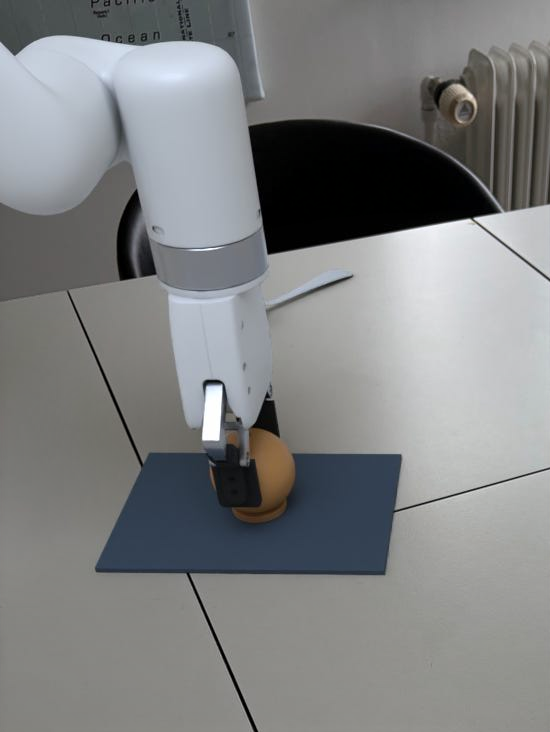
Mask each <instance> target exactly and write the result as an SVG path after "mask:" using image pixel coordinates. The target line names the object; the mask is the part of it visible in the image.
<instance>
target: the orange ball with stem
mask: <svg viewBox="0 0 550 732" xmlns="http://www.w3.org/2000/svg"><path fill="white" fill-rule="evenodd" d="M225 436H226V439H227V443H228V444H233V445H235V446H236V447H237V448H238V431H231V432H230V433H228V434H227V435H225ZM280 438H281V437H280ZM280 438H278V437H277V436H276V435H274V434H272V433H271V432H268V431H266V430H263V429H258V428H249V450H250V459H255V463H256V468H257V474H258V479H259V485H260V490H261V495H262V503H261V506H260V507H257V508H253V507H232V512H233V514H234V515H235V517H236V518H238V519H239V520H242V521H244V522H249V523H261V522H267V521H270V520H273V519H275V518H277V517H279V516H280V515H281V514H282V513H283V512H284V511H285V509H286V507H287V501H286V497H287V496H288V495H289V493H290V491H291V489H292V487H293V484H294V481H295V463H294V459H293V456H292V454H291V453H292V452H291V451H290V449H289V447H288V445H287V444H286V443H285V442H284V441H283V440H282V439H280ZM210 477H211V481H212V484H213V486H214V488H215V490H216V487H215V483H214V478H213V473H212V469H211V467H210Z"/></svg>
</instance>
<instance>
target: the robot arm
mask: <svg viewBox="0 0 550 732" xmlns="http://www.w3.org/2000/svg"><path fill="white" fill-rule="evenodd" d="M244 96H245V95H244V90H243V84H242V80H241V74H240V71H239V68H238V66H237V64H236V62H235V60H234V58H233V57H232V56H231V55H230V54H229V53H228V52H227V51H226V50H225V49H223V48H222V47H219V46H217V45H214V44H212V43H211V44H210V43H208V42H207V43H206V42H203V41H194V40H193V41H191V40H176V41H175V40H173V41H172V40H171V41H164V42H163V41H162V42H156V43H155V42H154V43H149V44H145V45H135V44H127V43H119V42H112V41H107V40H102V39H95V38H91V37H85V36H83V37H82V36H75V35H51V36H45V37H42V38H39V39H37V40H34V41H32V42H30V43H29V44H28V45H26V46H25V47H23V48H22V49H21V51H18V53H17V54H16V55H14V54H13V53H12V52H11V51H10V50H9V49H8V48H7V47H6V45H4V44H3V43H2V42H1V41H0V203H1V204H2V205H5V206H6V207H9V208H11V209H13V210H16V211H17V212H20V213H21V212H22V213H25V214H28V215H34V216H45V217H46V216H53V215H59V214H63V213H66V212H68V211H70V210H73V209H74V208H76V207H78V206H79V205H80V204H82V203H83V202H84V201H85V200H86V199H87V198H88V196H89V195H90V194H91V193H92V191H94V189H95V188H96V186H97V185H98V184H99V182H100V181H101V180H102V178H103V176H104V175H105V174H106V172H107V171H108V170H110V169H111V168H113V167H115V166H117V165H118V164H120V163H122V162H127V163H129V164H130V165H131V169H132V173H133V176H134V181H135V186H136V191H137V194H138V198H139V204H140V208H141V212H142V216H143V221H144V226H145V230H146V234H147V238H148V242H149V243H148V244H149V246H150V247H149V248H150V251H151V255H152V260H153V265H154V269H155V273H156V278H157V282H158V285H159V287H160V288H161V289H162V290H163V291H165V292H166V293H168V296H167V300H168V301H167V303H168V304H167V305H168V319H169V320H168V321H169V331H170V339H171V345H172V352H173V359H174V364H175V371H176V375H177V383H178V388H179V393H180V398H181V404H182V409H183V415H184V419H185V423H186V425H187V427H188V428H190V430H193V431H195V430H196V431H197V430H199V429H202V436H201V445H202V448H203V450H204V451H205V453H206V456H208V459H209V465H210V467H211V469H212V473H213V478H214V483H215V487H216V492H217V496H218V501H219V504H220V505H221V506H222V507H253V508H257V507H260V506H261V503H262V495H261V490H260V485H259V479H258V474H257V468H256V463H255V459H250V450H249V428H258V429H263V430H266V431H268V432H271V433H272V434H274V435H276V436H277V437H278V438H280V439H281V432H280V427H279V421H278V415H277V408H276V401H275V400H274V399H273V397H274V396H273V394H274V390H273V384H272V382H271V379H272V376H273V372H274V371H273V370H274V357H273V356H274V355H273V346H272V339H271V332H270V325H269V320H268V314H267V308H266V306H265V303H264V302H265V299H264V293H263V289H262V283H264V282H265V281H266V280H267V279H268V277H269V275H270V273H271V271H270V263H269V256H268V249H267V243H266V237H265V230H264V223H263V216H262V210H261V203H260V197H259V190H258V185H257V177H256V171H255V165H254V158H253V151H252V143H251V136H250V130H249V123H248V116H247V110H246V104H245V97H244ZM227 414H234V416H235V420H236V421H226V419H227ZM226 431H229V432H230V431H231V432H234V431H238V448H237V447H236V446H235V445H233V444H228V443H227V439H226V436H227V435H226ZM281 440H282V439H281Z"/></svg>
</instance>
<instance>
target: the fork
mask: <svg viewBox="0 0 550 732" xmlns="http://www.w3.org/2000/svg"><path fill="white" fill-rule="evenodd" d="M353 275H354V274H353V272H351V271H350V270H346V269H343V268H334V269H331V270H326V271H325V272H323V273H320V274H319V275H317V276H315V277H313V278H311V280H309V281H306V282H305V283H304V284H301V285H300V286H298V287H297V288H295V289H293V290H292V291H289V292H288V293H285V294H283V295H281V296H279V297H276V298H275V299H272V300H269V301H264V303H265V307H267V306H274V305H278V304H281V303H284V302H286V301H288V300H291V299H294V297H297V296H299V295H302V294H304V293H307V292H309V291H312V290H314V289H317V288H319V287H322V286H325V285H328V284H330V283H333V282H336V281H339V280H341V279H345V278H348V277H352V276H353Z"/></svg>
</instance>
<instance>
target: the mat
mask: <svg viewBox="0 0 550 732" xmlns="http://www.w3.org/2000/svg"><path fill="white" fill-rule="evenodd" d="M206 453H207V452H151V451H150V452H148V454H147V456H146V458H145V460H144V463H143V465H142V467H141V469H140V471H139V473H138V475H137V477H136V479H135V481H134V484H133V486H132V488H131V490H130V492H129V494H128V497H127V498H126V501H125V503H124V505H123V507H122V509H121V511H120V513H119V515H118V518H117V519H116V522H115V524H114V526H113V528H112V530H111V533H110V534H109V536H108V538H107V541H106V543H105V545H104V547H103V549H102V552H101V554H100V556H99V558H98V560H97V562H96V564H95V566H94V571H95V572H96V573H162V574H163V573H164V574H165V573H167V574H169V573H171V574H172V573H173V574H174V573H176V574H177V573H179V574H181V573H183V574H273V575H274V574H279V575H280V574H282V575H283V574H284V575H286V574H287V575H289V574H291V575H293V574H294V575H306V574H307V575H383V576H384V575H386V569H387V562H388V555H389V549H390V540H391V534H392V526H393V520H394V515H395V506H396V500H397V494H398V493H397V492H398V486H399V478H400V472H401V465H402V459H403V455H402V453H307V452H306V453H302V452H301V453H297V452H296V453H292V452H291V454H292V456H293V459H294V463H295V481H294V484H293V487H292V489H291V491H290V493H289V495H288V496H287V497H286V501H287V507H286V509H285V511H284V512H283V513H282V514H281V515H280V516H279V517H277V518H275V519H273V520H270V521H267V522H261V523H249V522H244V521H242V520H239V519H238V518H236V517H235V515H234V514H233V512H232V507H222V506H221V505H220V504H219V501H218V496H217V492H216V490H215V488H214V486H213V484H212V481H211V477H210V465H209V459H208V456H206Z"/></svg>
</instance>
